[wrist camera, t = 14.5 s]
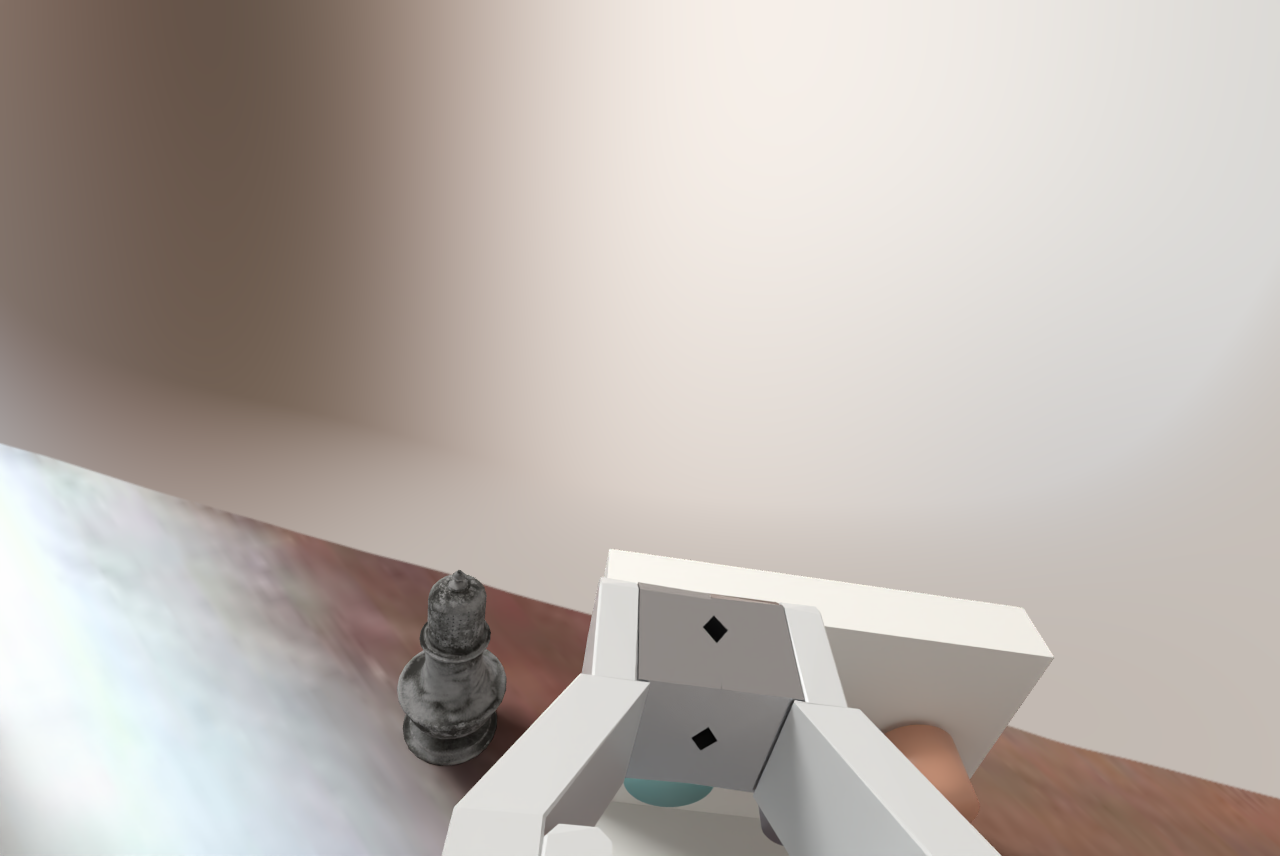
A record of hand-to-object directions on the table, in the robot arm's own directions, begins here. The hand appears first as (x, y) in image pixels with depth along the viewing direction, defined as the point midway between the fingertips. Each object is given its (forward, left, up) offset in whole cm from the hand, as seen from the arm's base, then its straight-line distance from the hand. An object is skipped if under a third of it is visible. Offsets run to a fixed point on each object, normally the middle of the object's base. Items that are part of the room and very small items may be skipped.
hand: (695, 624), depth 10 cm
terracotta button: (+16, +13, -23) cm, 31 cm away
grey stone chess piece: (-7, +19, -30) cm, 36 cm away
